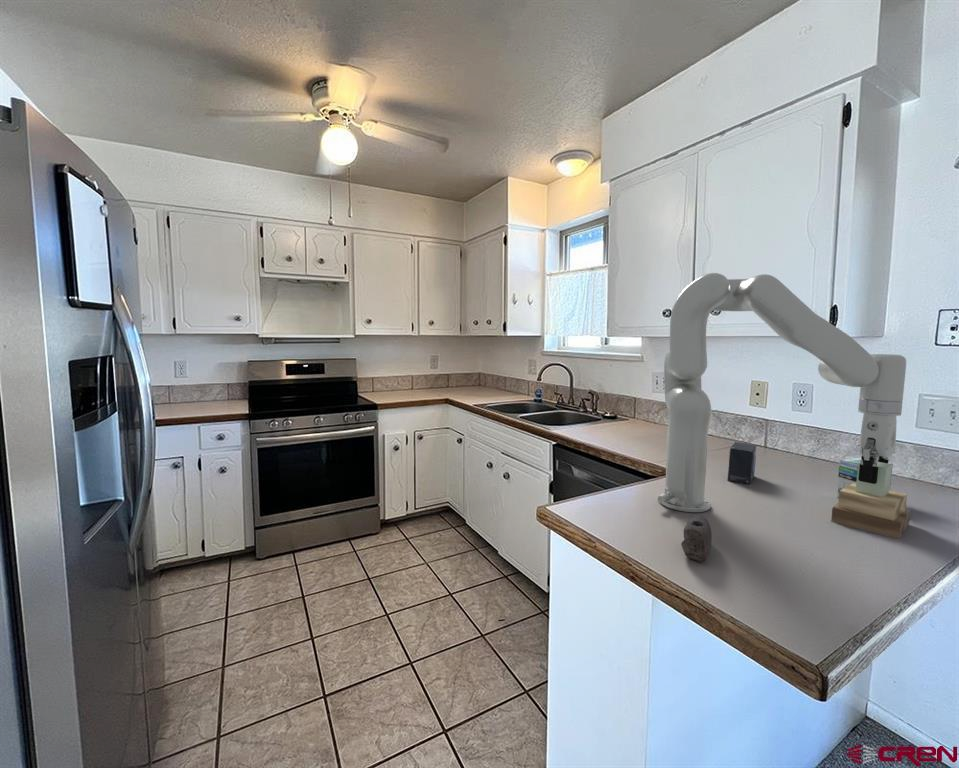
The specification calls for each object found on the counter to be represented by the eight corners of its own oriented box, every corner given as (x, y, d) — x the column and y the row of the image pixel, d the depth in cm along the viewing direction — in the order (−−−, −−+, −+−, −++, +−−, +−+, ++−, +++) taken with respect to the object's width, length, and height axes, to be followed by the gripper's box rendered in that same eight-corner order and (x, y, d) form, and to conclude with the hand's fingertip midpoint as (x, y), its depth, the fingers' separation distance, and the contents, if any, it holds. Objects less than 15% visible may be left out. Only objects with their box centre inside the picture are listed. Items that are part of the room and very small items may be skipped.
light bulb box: (861, 505, 116) (865, 466, 115) (834, 497, 123) (838, 459, 122) (890, 501, 119) (894, 462, 118) (863, 493, 126) (866, 456, 125)
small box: (751, 485, 133) (753, 451, 132) (726, 481, 137) (728, 447, 136) (755, 476, 141) (757, 444, 140) (732, 472, 145) (733, 441, 144)
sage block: (883, 497, 102) (886, 467, 101) (855, 491, 106) (858, 462, 105) (888, 493, 105) (892, 464, 104) (861, 487, 109) (864, 459, 108)
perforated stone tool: (688, 534, 100) (690, 504, 99) (714, 539, 97) (716, 509, 96) (677, 562, 87) (679, 528, 87) (707, 569, 85) (709, 535, 84)
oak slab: (893, 520, 99) (895, 503, 98) (838, 506, 107) (839, 490, 106) (905, 510, 104) (907, 494, 104) (852, 498, 113) (853, 482, 112)
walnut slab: (898, 541, 97) (900, 523, 97) (831, 523, 107) (832, 507, 106) (908, 526, 105) (909, 510, 105) (844, 511, 114) (845, 496, 114)
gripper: (892, 413, 95) (885, 490, 97) (909, 405, 106) (902, 475, 107) (848, 408, 101) (842, 481, 103) (868, 401, 112) (862, 468, 113)
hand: (872, 478), depth 105 cm, fingers open, 9 cm apart
